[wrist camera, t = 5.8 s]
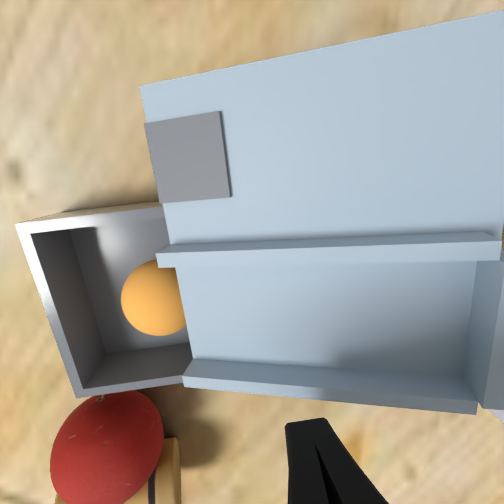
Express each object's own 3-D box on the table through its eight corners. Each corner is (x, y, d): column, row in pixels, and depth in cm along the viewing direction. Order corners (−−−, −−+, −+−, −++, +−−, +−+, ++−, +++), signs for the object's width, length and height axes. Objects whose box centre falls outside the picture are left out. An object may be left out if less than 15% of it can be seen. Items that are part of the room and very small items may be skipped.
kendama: (209, 519, 25) (186, 372, 18) (188, 634, 20) (141, 488, 12) (127, 509, 26) (72, 364, 19) (83, 618, 20) (-20, 470, 13)
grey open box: (229, 192, 16) (230, 198, 13) (248, 336, 19) (252, 372, 16) (60, 212, 16) (14, 223, 12) (103, 356, 18) (76, 398, 15)
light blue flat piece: (517, 17, 8) (586, -33, 6) (468, 378, 12) (500, 426, 10) (151, 90, 11) (110, 74, 9) (201, 360, 15) (181, 393, 13)
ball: (153, 248, 17) (209, 250, 15) (166, 308, 18) (219, 316, 16) (93, 272, 14) (156, 278, 12) (114, 344, 15) (173, 359, 13)
